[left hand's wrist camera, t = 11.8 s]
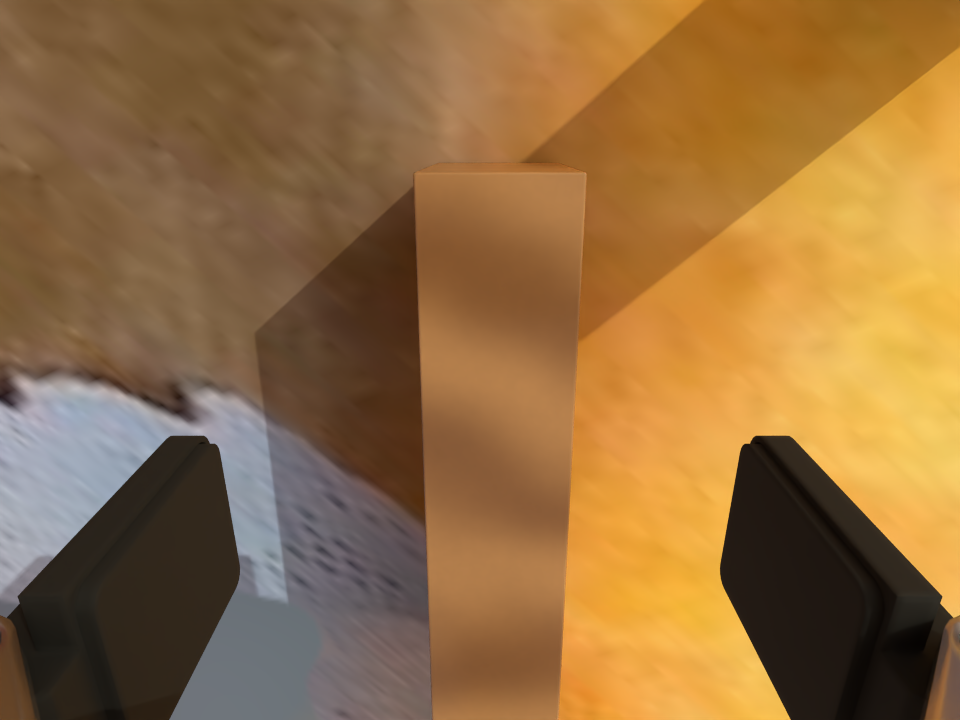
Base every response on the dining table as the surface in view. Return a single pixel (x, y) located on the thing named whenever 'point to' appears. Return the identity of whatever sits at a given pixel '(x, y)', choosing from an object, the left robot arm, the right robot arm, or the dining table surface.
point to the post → (497, 427)
